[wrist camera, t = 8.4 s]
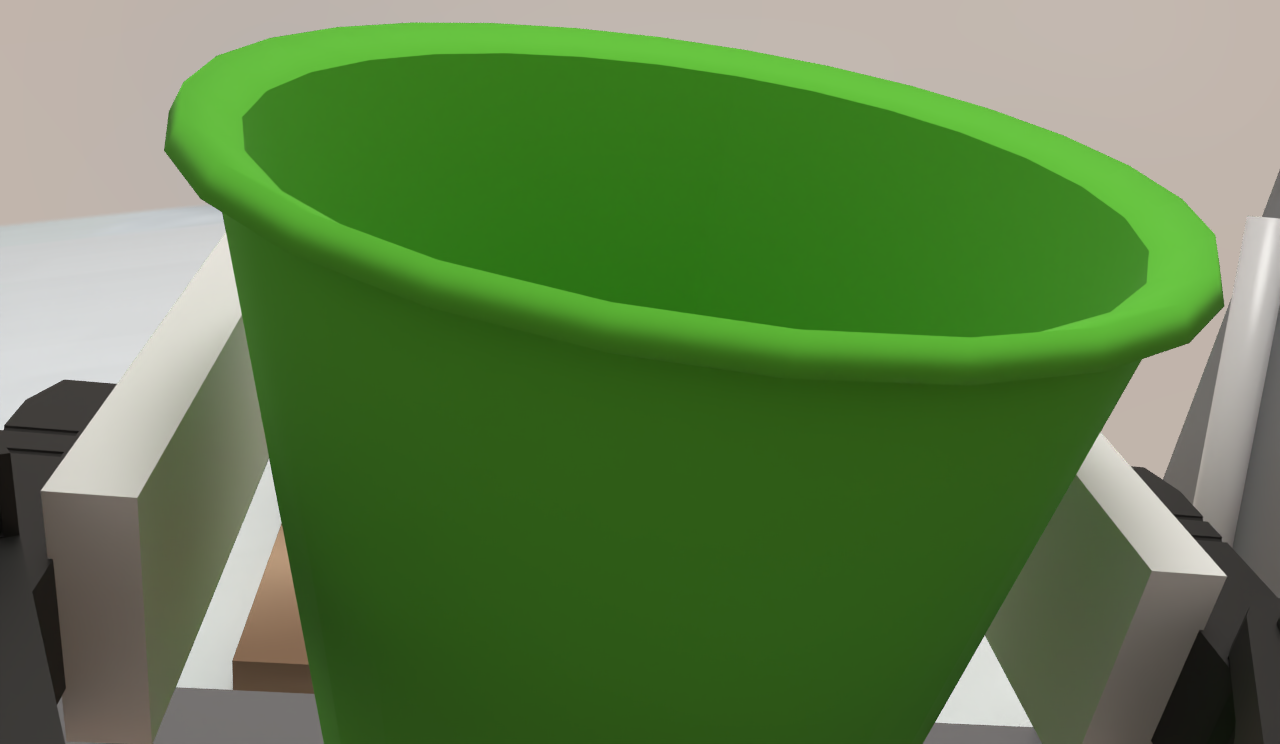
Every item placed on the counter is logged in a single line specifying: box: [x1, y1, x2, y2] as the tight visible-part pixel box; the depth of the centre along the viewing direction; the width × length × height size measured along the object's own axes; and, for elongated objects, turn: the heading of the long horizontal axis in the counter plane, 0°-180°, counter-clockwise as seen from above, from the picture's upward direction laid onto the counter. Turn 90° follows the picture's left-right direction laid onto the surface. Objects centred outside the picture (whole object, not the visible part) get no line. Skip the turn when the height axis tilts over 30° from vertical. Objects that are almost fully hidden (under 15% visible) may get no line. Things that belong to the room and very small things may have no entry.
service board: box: [232, 524, 314, 694], centre depth 32 cm, size 13×13×1 cm
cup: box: [164, 23, 1224, 744], centre depth 13 cm, size 9×9×11 cm
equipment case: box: [57, 171, 1280, 744], centre depth 14 cm, size 17×25×18 cm
